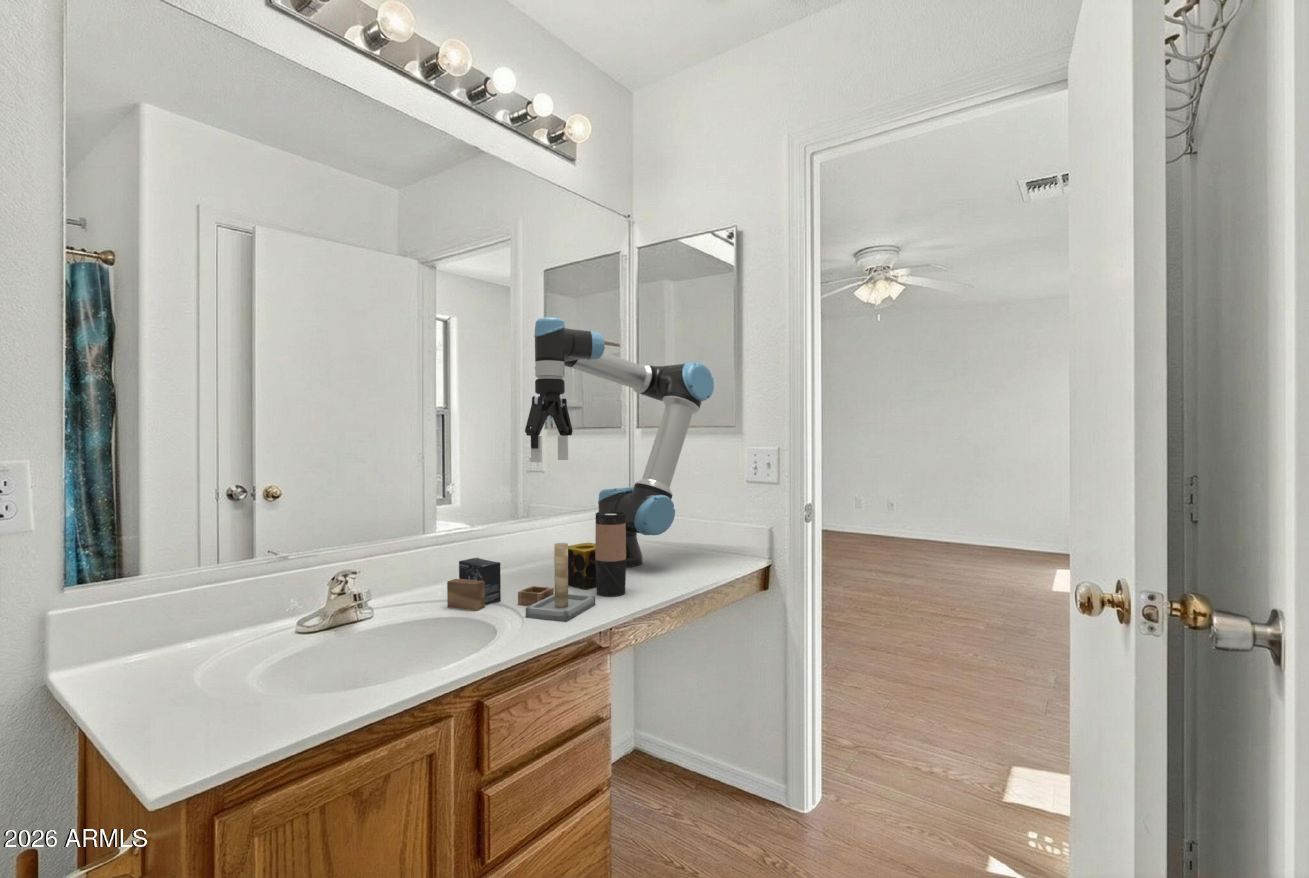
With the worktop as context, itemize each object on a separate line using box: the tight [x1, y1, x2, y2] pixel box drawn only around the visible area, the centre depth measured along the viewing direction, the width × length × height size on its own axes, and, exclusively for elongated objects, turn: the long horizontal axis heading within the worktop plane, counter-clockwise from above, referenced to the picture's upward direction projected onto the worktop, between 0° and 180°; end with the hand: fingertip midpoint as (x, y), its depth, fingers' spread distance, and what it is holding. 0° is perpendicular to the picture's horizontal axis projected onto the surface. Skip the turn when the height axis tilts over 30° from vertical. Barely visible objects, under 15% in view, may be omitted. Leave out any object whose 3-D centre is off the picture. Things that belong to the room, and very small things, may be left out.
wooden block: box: [446, 578, 486, 612], centre depth 144 cm, size 3×8×6 cm, turn 70°
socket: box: [517, 585, 555, 607], centre depth 148 cm, size 6×6×3 cm
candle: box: [568, 542, 596, 590], centre depth 167 cm, size 10×10×10 cm
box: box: [458, 557, 502, 606], centre depth 150 cm, size 9×6×10 cm, turn 52°
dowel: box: [553, 542, 569, 608], centre depth 141 cm, size 3×3×14 cm
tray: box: [525, 593, 596, 623], centre depth 141 cm, size 14×10×2 cm
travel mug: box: [595, 511, 627, 598], centre depth 157 cm, size 8×8×20 cm
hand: (550, 461), depth 163 cm, fingers open, 13 cm apart
